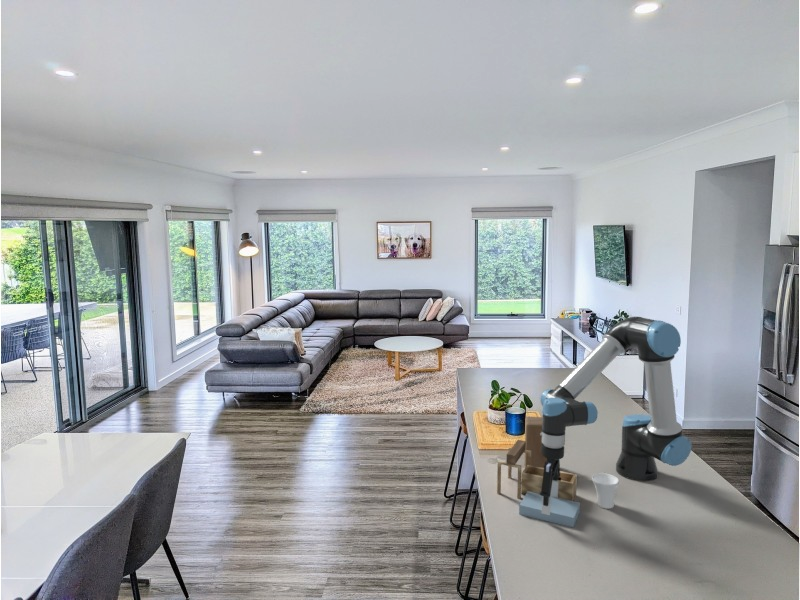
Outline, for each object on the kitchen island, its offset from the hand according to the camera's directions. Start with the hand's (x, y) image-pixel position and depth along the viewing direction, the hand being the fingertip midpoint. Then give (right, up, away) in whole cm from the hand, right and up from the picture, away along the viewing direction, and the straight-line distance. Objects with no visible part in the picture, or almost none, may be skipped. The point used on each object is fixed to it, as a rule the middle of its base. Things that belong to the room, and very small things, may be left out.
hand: (549, 506), depth 184 cm
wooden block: (+5, +2, +35) cm, 35 cm away
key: (-8, +12, +17) cm, 22 cm away
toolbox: (0, -1, +15) cm, 15 cm away
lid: (0, -3, +1) cm, 3 cm away
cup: (+21, -2, +5) cm, 22 cm away
